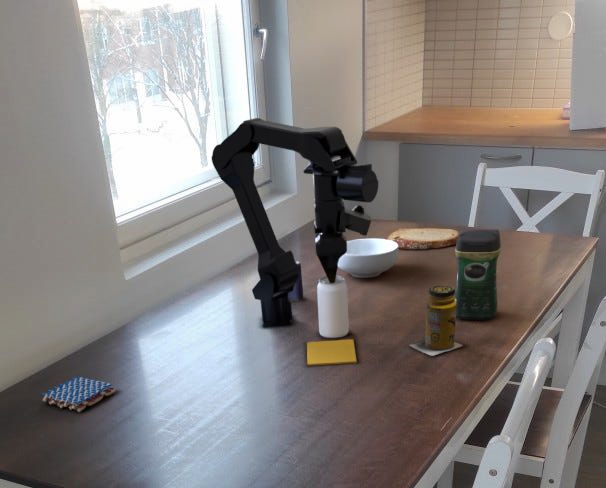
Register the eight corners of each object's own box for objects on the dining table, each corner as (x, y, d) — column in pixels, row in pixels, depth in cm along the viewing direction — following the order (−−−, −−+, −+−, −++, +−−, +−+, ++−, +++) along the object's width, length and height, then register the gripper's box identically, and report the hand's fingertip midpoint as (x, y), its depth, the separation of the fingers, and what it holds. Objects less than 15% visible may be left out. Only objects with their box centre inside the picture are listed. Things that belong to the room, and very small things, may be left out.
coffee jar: (497, 309, 184) (504, 225, 173) (494, 322, 178) (501, 235, 167) (455, 308, 186) (458, 225, 176) (450, 320, 180) (454, 234, 169)
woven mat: (80, 414, 152) (77, 404, 151) (41, 403, 157) (38, 394, 156) (117, 392, 159) (115, 382, 158) (79, 383, 164) (77, 374, 163)
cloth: (307, 365, 164) (307, 364, 164) (307, 343, 174) (307, 342, 174) (356, 362, 164) (356, 361, 164) (353, 341, 174) (353, 339, 174)
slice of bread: (466, 239, 232) (467, 226, 230) (429, 255, 222) (429, 241, 219) (416, 231, 242) (416, 218, 240) (378, 246, 232) (378, 233, 230)
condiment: (463, 346, 168) (466, 288, 161) (432, 356, 164) (433, 298, 157) (439, 336, 173) (441, 280, 166) (409, 346, 169) (409, 290, 162)
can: (318, 329, 181) (315, 276, 174) (346, 327, 181) (344, 273, 174) (320, 340, 175) (318, 285, 168) (350, 337, 176) (348, 282, 169)
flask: (266, 299, 200) (262, 255, 194) (270, 295, 202) (267, 252, 196) (301, 301, 197) (298, 256, 191) (305, 297, 200) (302, 253, 193)
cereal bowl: (409, 267, 214) (409, 240, 210) (379, 286, 203) (379, 258, 198) (353, 261, 222) (353, 234, 218) (322, 279, 211) (320, 251, 207)
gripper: (371, 206, 154) (372, 287, 163) (365, 185, 169) (366, 260, 178) (313, 210, 154) (318, 291, 163) (312, 189, 170) (316, 264, 179)
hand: (331, 276), depth 171 cm, fingers open, 9 cm apart
